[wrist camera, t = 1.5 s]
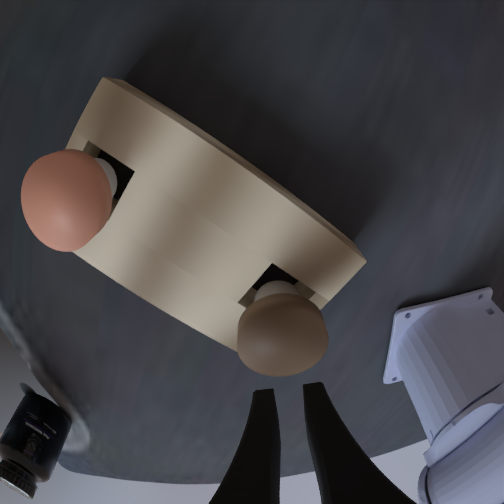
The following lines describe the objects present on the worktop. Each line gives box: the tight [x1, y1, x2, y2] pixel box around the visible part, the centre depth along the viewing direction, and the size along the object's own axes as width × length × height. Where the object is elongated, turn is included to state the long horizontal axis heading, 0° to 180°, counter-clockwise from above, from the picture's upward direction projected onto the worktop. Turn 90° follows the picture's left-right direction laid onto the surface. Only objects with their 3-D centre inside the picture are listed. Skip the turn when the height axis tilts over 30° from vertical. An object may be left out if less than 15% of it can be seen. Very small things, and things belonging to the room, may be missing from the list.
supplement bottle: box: [0, 393, 71, 499], centre depth 21 cm, size 7×7×12 cm
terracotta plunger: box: [21, 149, 117, 252], centre depth 12 cm, size 4×4×4 cm
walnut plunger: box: [237, 281, 329, 376], centre depth 15 cm, size 4×4×4 cm
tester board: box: [66, 77, 367, 352], centre depth 16 cm, size 16×9×2 cm, turn 54°
